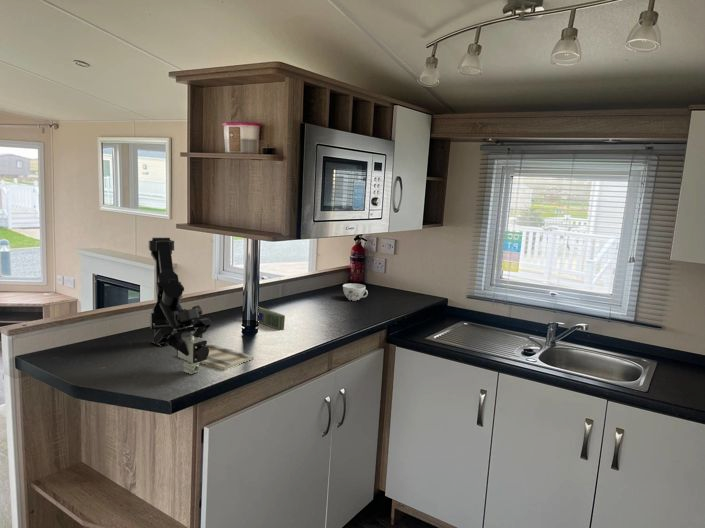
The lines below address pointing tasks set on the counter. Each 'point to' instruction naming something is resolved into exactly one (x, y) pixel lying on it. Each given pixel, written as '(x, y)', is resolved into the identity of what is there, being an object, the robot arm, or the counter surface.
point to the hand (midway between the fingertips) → (195, 353)
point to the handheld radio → (271, 319)
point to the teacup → (354, 291)
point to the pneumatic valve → (193, 353)
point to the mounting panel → (224, 357)
